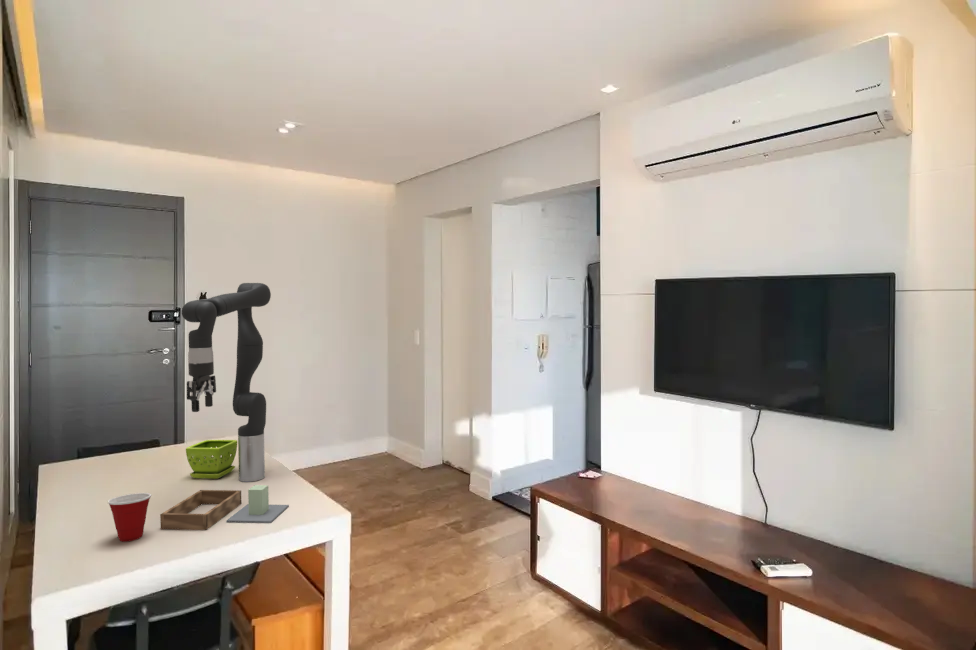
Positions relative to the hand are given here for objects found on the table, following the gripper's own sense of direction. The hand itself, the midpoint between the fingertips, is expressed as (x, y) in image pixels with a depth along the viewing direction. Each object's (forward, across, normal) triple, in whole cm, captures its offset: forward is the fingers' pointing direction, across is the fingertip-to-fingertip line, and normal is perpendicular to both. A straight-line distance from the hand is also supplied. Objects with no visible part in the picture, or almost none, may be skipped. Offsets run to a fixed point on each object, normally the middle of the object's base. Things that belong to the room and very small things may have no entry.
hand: (202, 409), depth 190 cm
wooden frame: (+32, +12, +6) cm, 34 cm away
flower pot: (+33, -30, -13) cm, 46 cm away
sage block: (+31, +10, +22) cm, 40 cm away
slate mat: (+32, +10, +23) cm, 40 cm away
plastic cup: (+32, +28, -7) cm, 43 cm away
